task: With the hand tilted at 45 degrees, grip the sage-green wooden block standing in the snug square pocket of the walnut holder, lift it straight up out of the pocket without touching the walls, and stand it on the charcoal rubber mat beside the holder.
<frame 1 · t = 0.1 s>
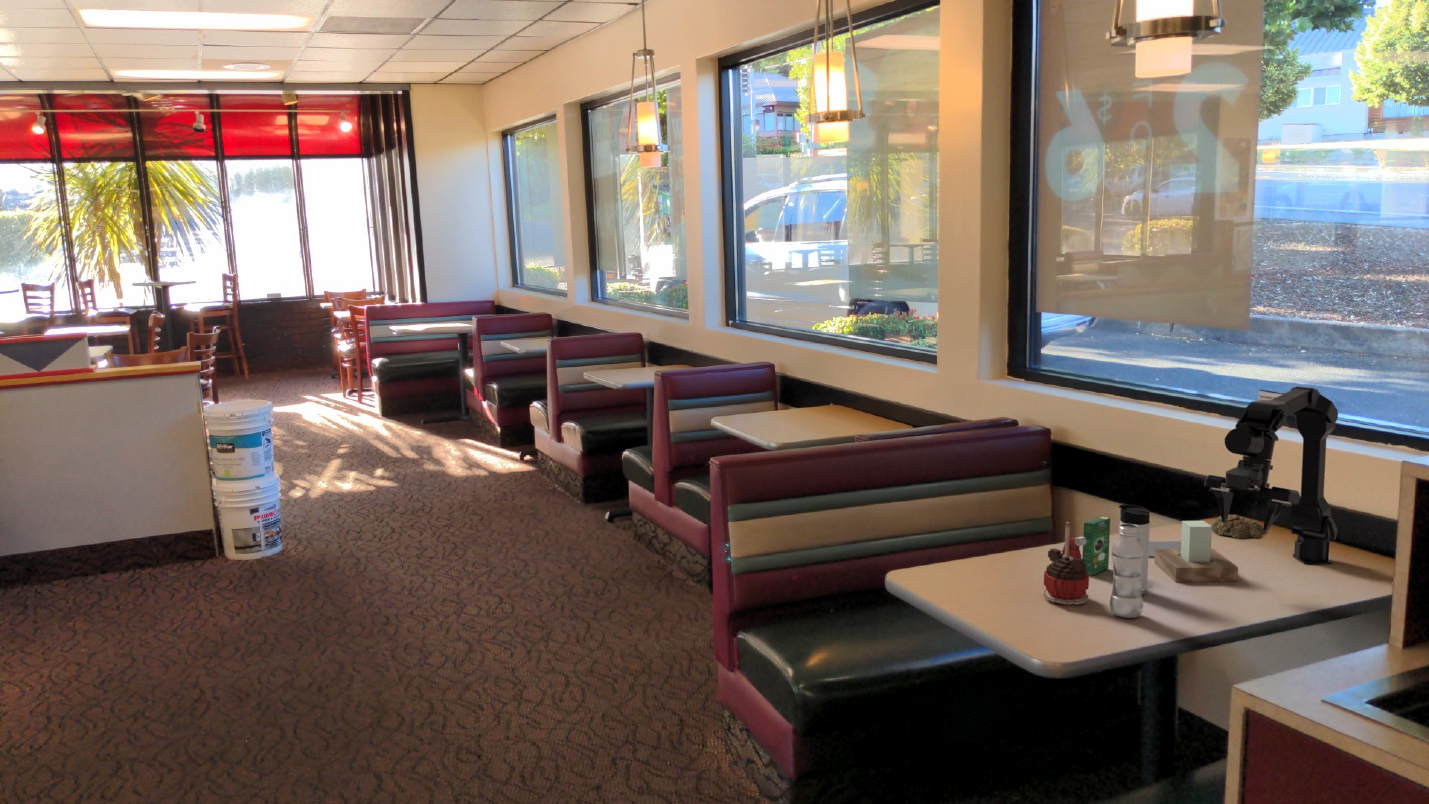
hand: (1244, 526, 230), 15 cm above the table, tool pointing down, fingers open, 9 cm apart
mat: (1164, 550, 264), on the table
block: (1194, 572, 247), resting in holder
brown rock: (1236, 533, 277), on the table
holder: (1194, 571, 247), on the table
coffee box: (1095, 572, 250), on the table
plastic bottle: (1125, 616, 221), on the table
travel mug: (1131, 592, 236), on the table
cake: (1065, 600, 232), on the table
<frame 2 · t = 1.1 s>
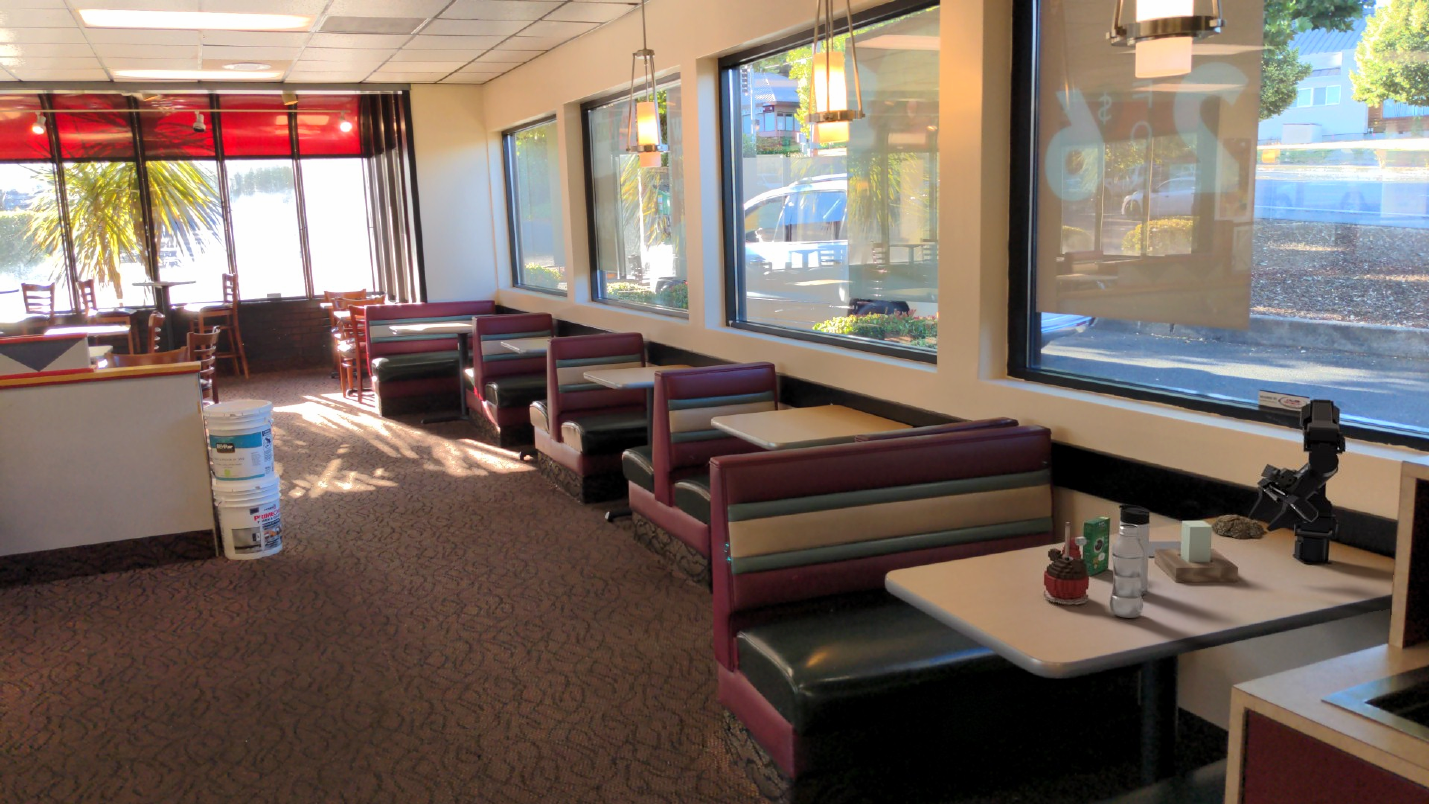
hand: (1258, 524, 238), 13 cm above the table, tool tilted 45°, fingers open, 9 cm apart
nothing on the table moved.
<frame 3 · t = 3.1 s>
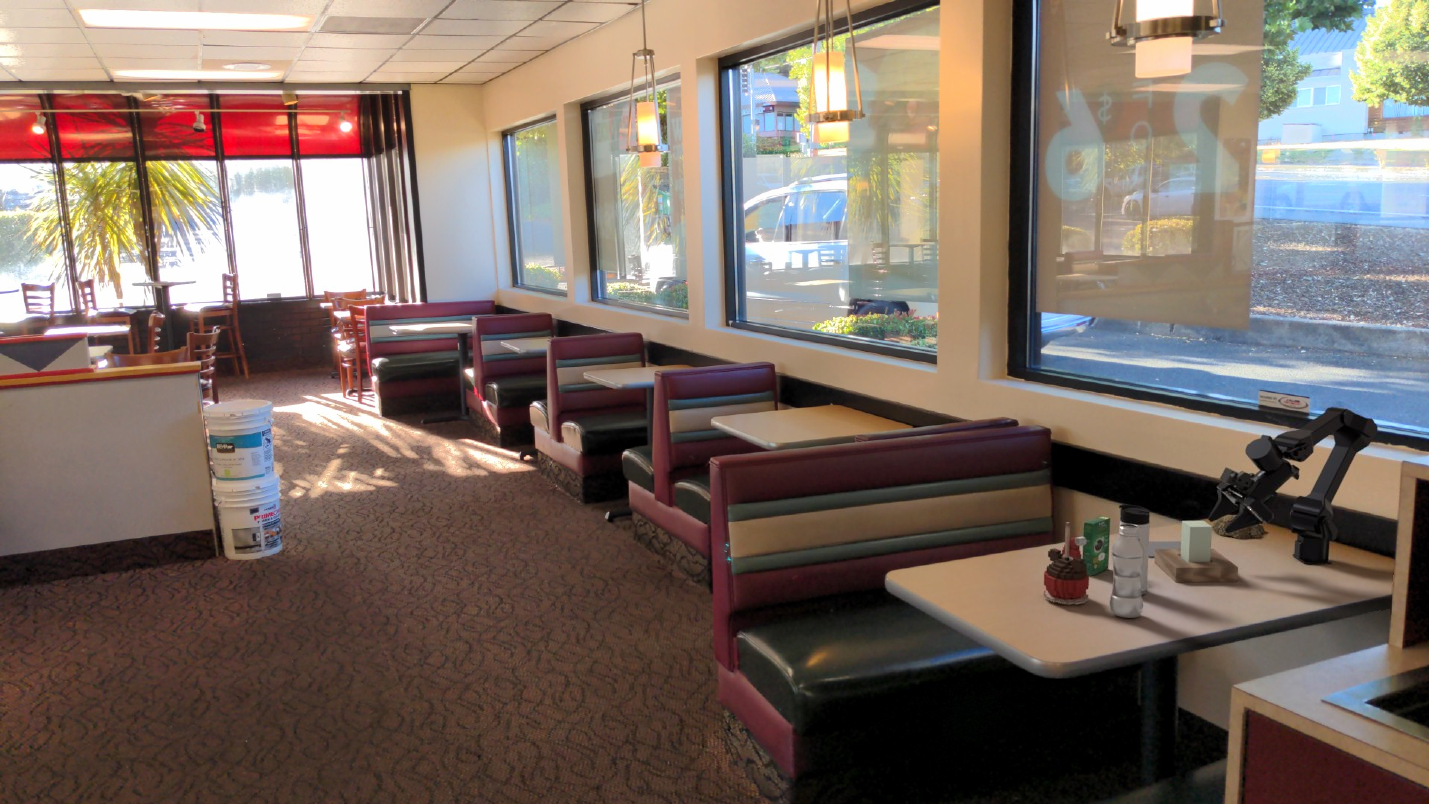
hand: (1217, 526, 245), 11 cm above the table, tool tilted 45°, fingers open, 9 cm apart
nothing on the table moved.
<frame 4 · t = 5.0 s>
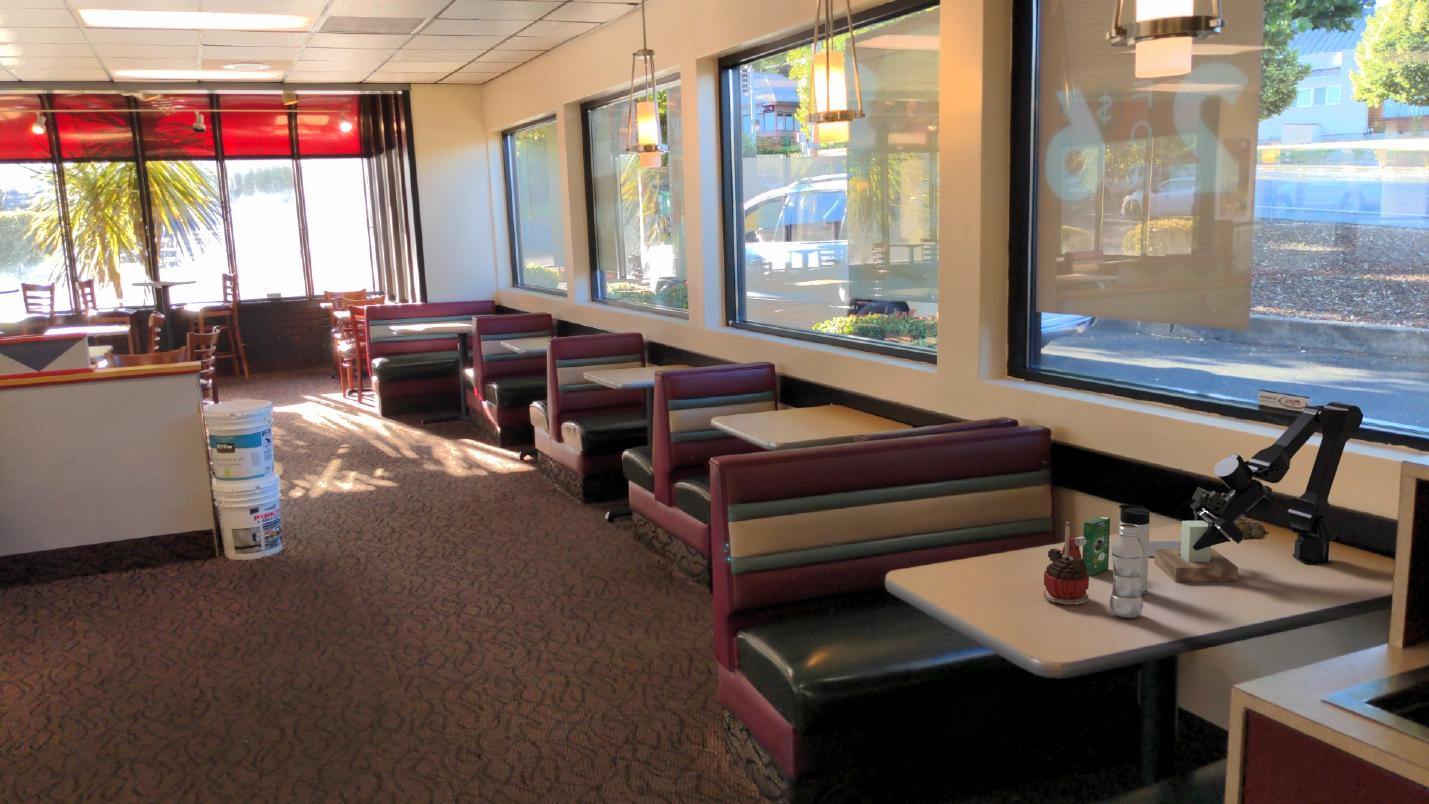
hand: (1189, 545, 246), 7 cm above the table, tool tilted 45°, fingers closed on block, 5 cm apart
block: (1194, 572, 247), resting in holder, touching gripper
everything else where it was.
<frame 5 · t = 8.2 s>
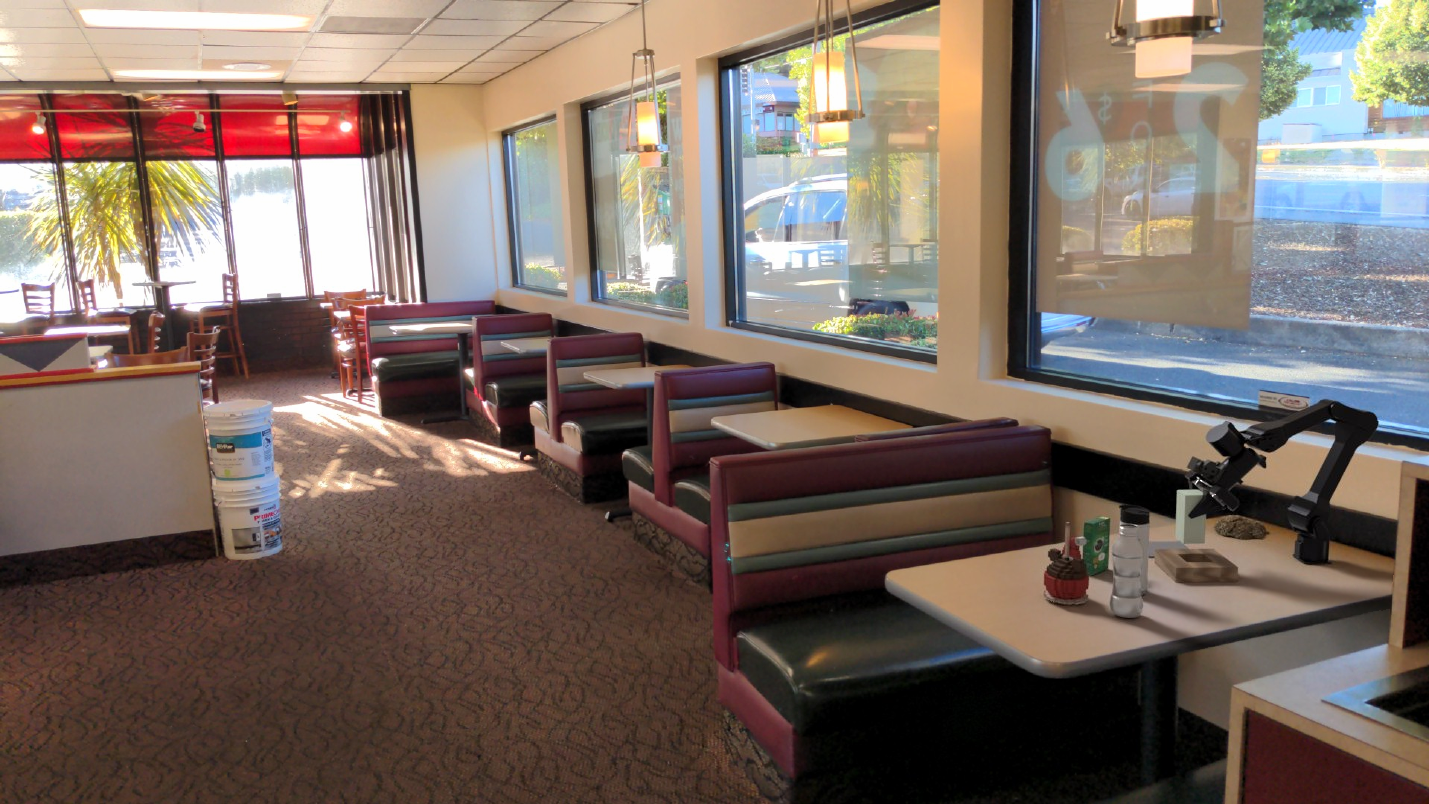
hand: (1185, 514, 249), 13 cm above the table, tool tilted 45°, fingers closed on block, 5 cm apart
block: (1189, 540, 250), point 7 cm above the table, touching gripper
everything else where it was.
when the fingers open (8 cm above the table, at t = 11.2 s): block drops 1 cm, resting on mat.
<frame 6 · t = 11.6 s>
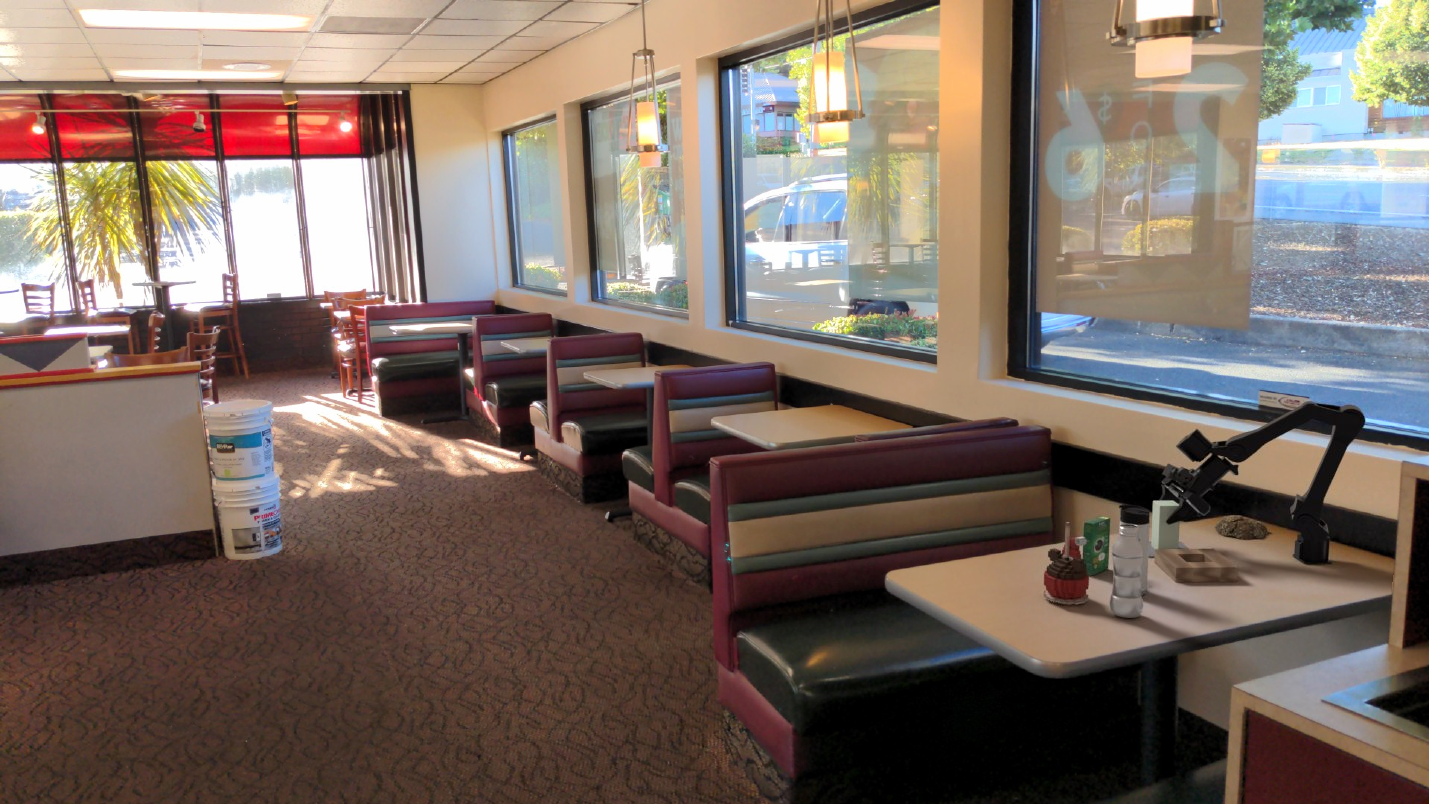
hand: (1160, 518, 263), 8 cm above the table, tool tilted 45°, fingers open, 9 cm apart
block: (1164, 548, 264), resting on mat
everything else where it was.
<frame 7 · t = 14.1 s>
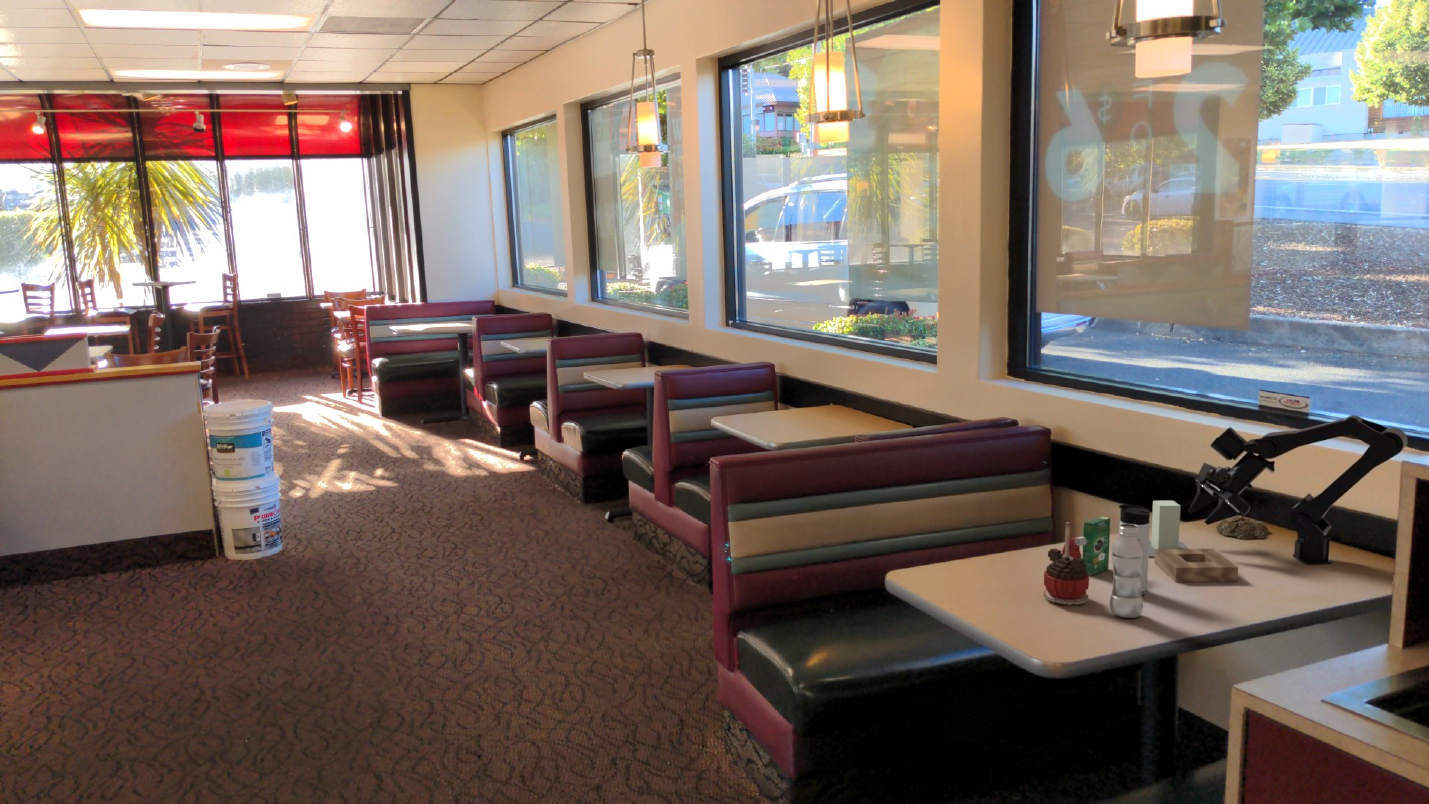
hand: (1197, 517, 262), 9 cm above the table, tool tilted 45°, fingers open, 9 cm apart
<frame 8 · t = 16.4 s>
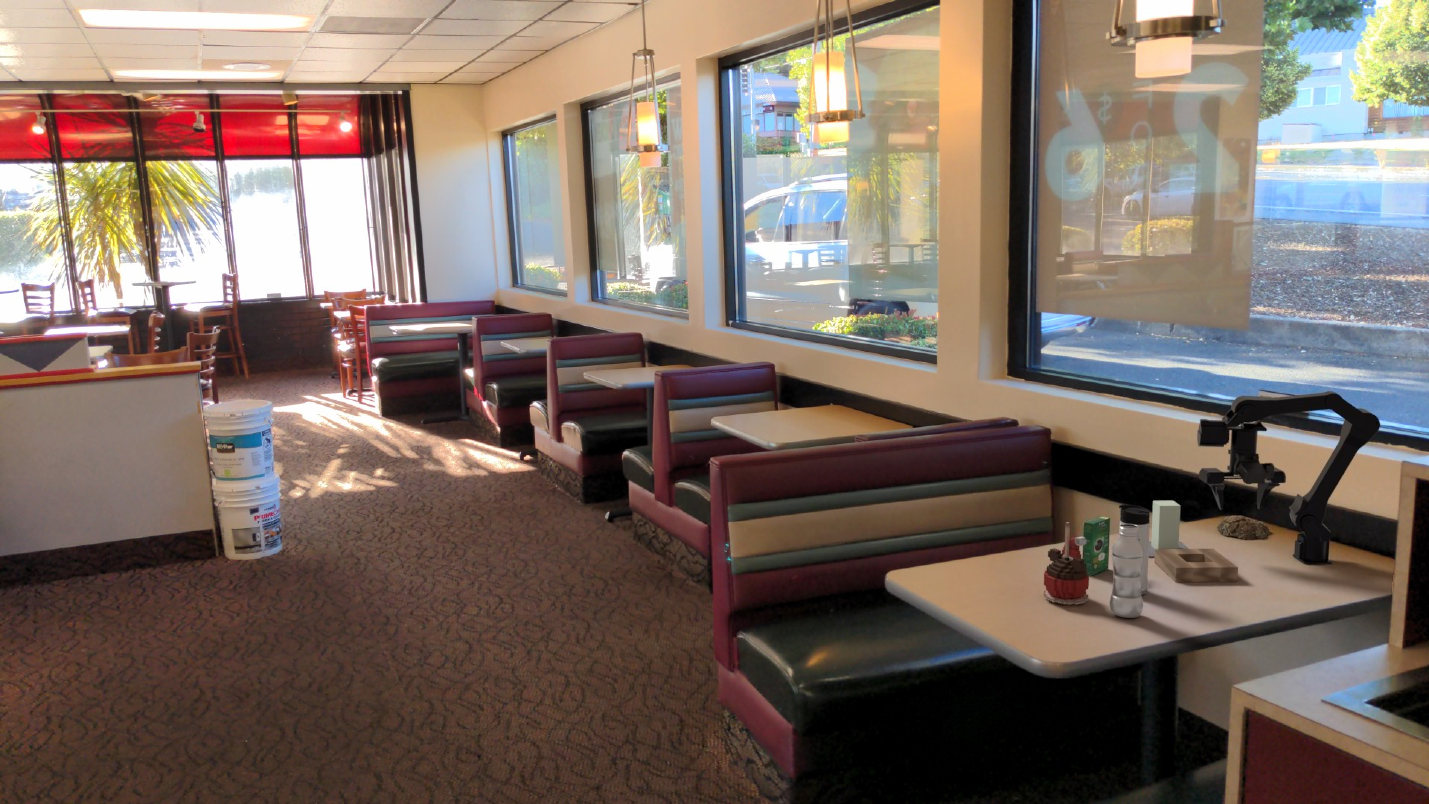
hand: (1240, 509, 256), 12 cm above the table, tool pointing down, fingers open, 9 cm apart
at the end: block inside the target area on the mat (0.0 cm from its centre), point 0.4 cm above the mat's base; block tilted 0°; block touching mat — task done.
